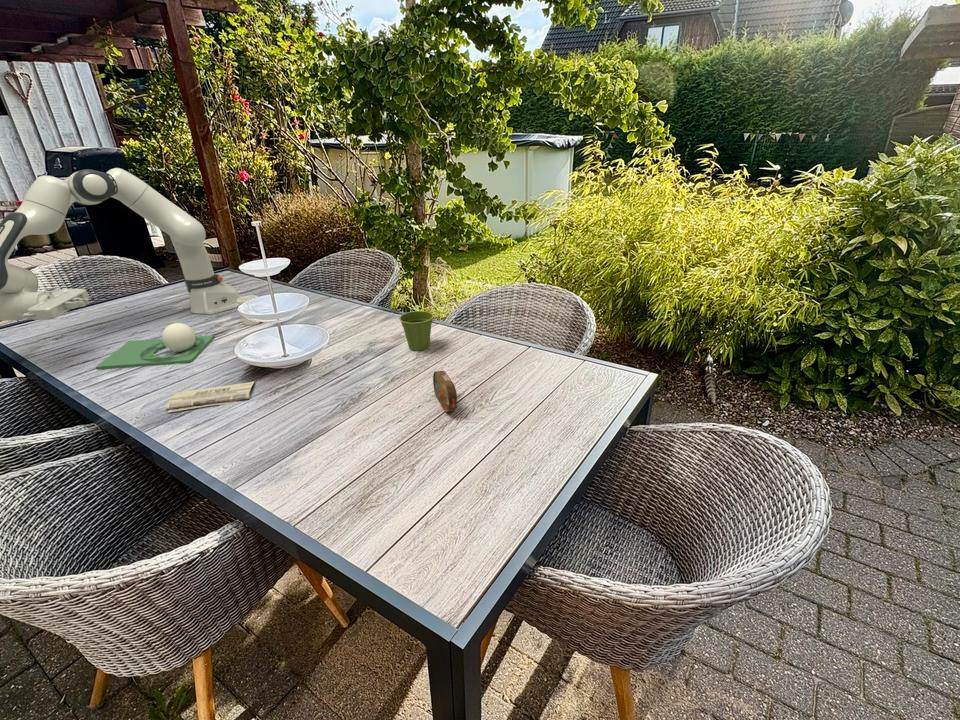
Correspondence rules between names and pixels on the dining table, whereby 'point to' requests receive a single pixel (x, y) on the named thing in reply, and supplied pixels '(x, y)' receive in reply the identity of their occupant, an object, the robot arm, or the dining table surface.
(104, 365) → the putting mat
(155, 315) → the dining table surface
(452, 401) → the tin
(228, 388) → the newspaper
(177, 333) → the ball
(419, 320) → the plant pot
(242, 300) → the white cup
